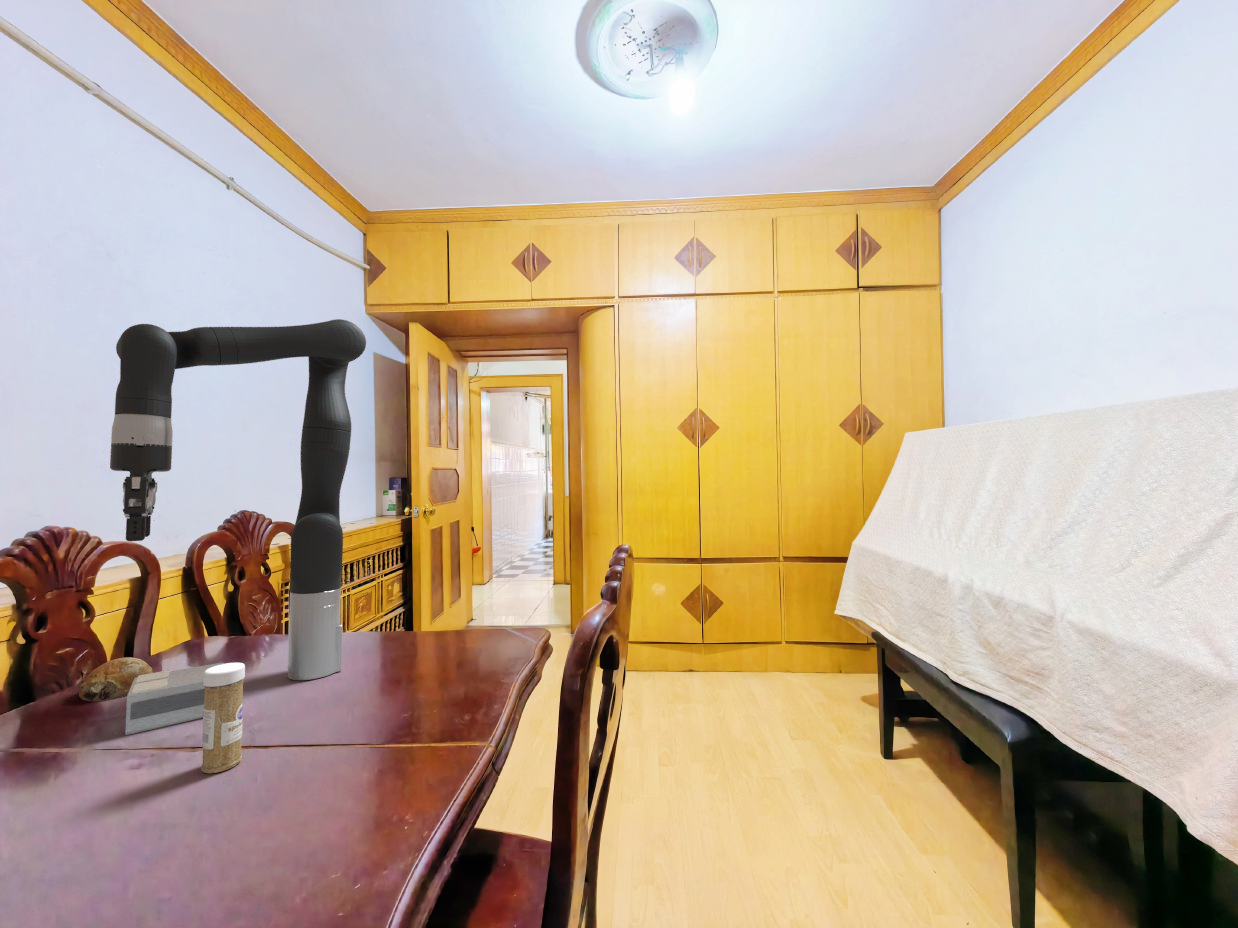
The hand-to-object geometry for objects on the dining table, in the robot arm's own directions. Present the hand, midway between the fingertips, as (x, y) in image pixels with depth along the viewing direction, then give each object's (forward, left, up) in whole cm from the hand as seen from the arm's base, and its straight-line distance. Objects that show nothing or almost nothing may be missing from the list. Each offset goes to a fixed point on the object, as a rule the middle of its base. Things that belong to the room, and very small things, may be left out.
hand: (138, 538), depth 84 cm
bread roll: (+4, -19, -30) cm, 36 cm away
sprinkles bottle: (-11, +27, -30) cm, 42 cm away
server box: (-6, +1, -30) cm, 31 cm away
